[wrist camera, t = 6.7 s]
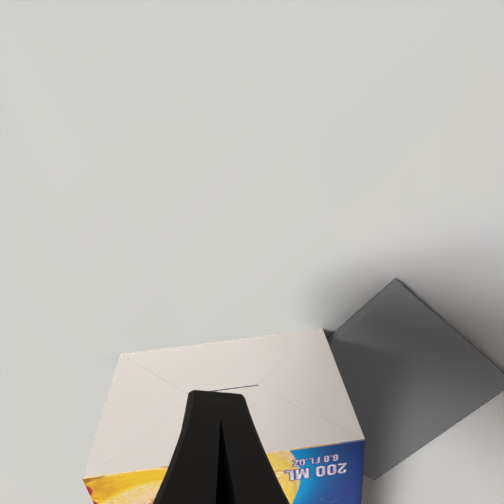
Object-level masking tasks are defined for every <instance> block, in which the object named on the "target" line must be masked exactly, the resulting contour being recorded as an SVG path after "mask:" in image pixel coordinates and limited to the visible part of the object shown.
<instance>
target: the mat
mask: <svg viewBox="0 0 504 504" xmlns="http://www.w3.org/2000/svg"><path fill="white" fill-rule="evenodd" d="M327 341H328V344H329V347H330V349H331V352H332V355H333V357H334V360H335V362H336V365H337V368H338V370H339V373H340V375H341V378H342V381H343V383H344V386H345V388H346V391H347V394H348V396H349V399H350V401H351V404H352V407H353V409H354V412H355V415H356V417H357V420H358V422H359V425H360V428H361V430H362V433H363V435H364V438H365V451H364V467H363V474H364V475H366V476H368V477H370V478H372V479H373V480H376V479H377V478H379V477H380V476H382V475H383V474H384V473H386V472H387V471H389V470H390V469H392V468H393V467H394V466H396V465H397V464H399V463H400V462H402V461H403V460H405V459H406V458H407V457H409V456H410V455H412V454H413V453H415V452H416V451H417V450H419V449H420V448H422V447H423V446H425V445H426V444H428V443H429V442H430V441H432V440H433V439H435V438H436V437H438V436H439V435H440V434H442V433H443V432H445V431H446V430H448V429H449V428H451V427H452V426H453V425H455V424H456V423H458V422H459V421H461V420H462V419H464V418H465V417H466V416H468V415H469V414H471V413H472V412H474V411H475V410H476V409H478V408H479V407H481V406H482V405H484V404H485V403H487V402H488V401H489V400H491V399H492V398H494V397H495V396H497V395H498V394H499V393H501V392H502V391H504V372H503V371H502V370H501V369H499V368H498V367H497V366H496V365H495V364H494V363H492V362H491V361H490V360H489V359H488V358H487V357H486V356H484V355H483V354H482V353H481V352H480V351H479V350H477V349H476V348H475V347H474V346H473V345H472V344H471V343H469V342H468V341H467V340H466V339H465V338H464V337H463V336H461V335H460V334H459V333H458V332H457V331H456V330H454V329H453V328H452V327H451V326H450V325H449V324H448V323H446V322H445V321H444V320H443V319H442V318H441V317H440V316H438V315H437V314H436V313H435V312H434V311H433V310H431V309H430V308H429V307H428V306H427V305H426V304H425V303H423V302H422V301H421V300H420V299H419V298H418V297H416V296H415V295H414V294H413V293H412V292H411V291H410V290H408V289H407V288H406V287H405V286H404V285H403V284H402V283H400V282H399V281H398V280H397V279H395V280H393V281H392V282H391V283H390V284H389V285H388V286H387V287H385V288H384V289H383V290H382V291H381V292H380V293H379V294H377V295H376V296H375V297H374V298H373V299H372V300H371V301H369V302H368V303H367V304H366V305H365V306H364V307H363V308H361V309H360V310H359V311H358V312H357V313H356V314H355V315H353V316H352V317H351V318H350V319H349V320H348V321H347V322H345V323H344V324H343V325H342V326H341V327H340V328H339V329H337V330H336V331H335V332H334V333H333V334H332V335H331V336H329V337H328V338H327Z"/></svg>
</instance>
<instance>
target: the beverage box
mask: <svg viewBox="0 0 504 504" xmlns="http://www.w3.org/2000/svg"><path fill="white" fill-rule="evenodd" d="M193 390H202V391H213V392H225V393H236V394H242V395H243V396H244V397H245V399H246V403H247V406H248V409H249V412H250V415H251V417H252V420H253V423H254V425H255V428H256V431H257V433H258V436H259V438H260V441H261V443H262V445H263V448H264V450H265V452H266V455H267V457H268V459H269V461H270V464H271V466H272V468H273V470H274V472H275V474H276V477H277V479H278V481H279V483H280V485H281V487H282V489H283V491H284V493H285V495H286V497H287V499H288V501H289V503H290V504H361V498H362V482H363V467H364V451H365V438H364V435H363V433H362V430H361V428H360V425H359V422H358V420H357V417H356V415H355V412H354V409H353V407H352V404H351V401H350V399H349V396H348V394H347V391H346V388H345V386H344V383H343V381H342V378H341V375H340V373H339V370H338V368H337V365H336V362H335V360H334V357H333V355H332V352H331V349H330V347H329V344H328V341H327V339H326V336H325V334H324V331H323V329H314V330H306V331H298V332H291V333H283V334H275V335H267V336H259V337H251V338H243V339H236V340H228V341H220V342H212V343H204V344H196V345H189V346H181V347H173V348H165V349H157V350H149V351H141V352H134V353H126V354H120V357H119V360H118V363H117V367H116V370H115V373H114V376H113V380H112V383H111V386H110V390H109V393H108V396H107V399H106V403H105V406H104V409H103V413H102V416H101V419H100V422H99V426H98V429H97V432H96V436H95V439H94V442H93V445H92V449H91V452H90V455H89V459H88V462H87V465H86V468H85V472H84V475H83V478H82V479H83V481H84V483H85V485H86V487H87V490H88V492H89V494H90V496H91V498H92V500H93V502H94V504H153V502H154V499H155V497H156V495H157V492H158V490H159V488H160V486H161V483H162V481H163V479H164V476H165V474H166V472H167V469H168V466H169V464H170V461H171V458H172V456H173V453H174V450H175V447H176V445H177V442H178V439H179V436H180V432H181V429H182V423H183V418H184V413H185V408H186V403H187V398H188V393H189V392H191V391H193Z"/></svg>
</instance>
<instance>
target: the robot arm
mask: <svg viewBox="0 0 504 504" xmlns="http://www.w3.org/2000/svg"><path fill="white" fill-rule="evenodd" d="M153 504H290V503H289V501H288V499H287V497H286V495H285V493H284V491H283V489H282V487H281V485H280V483H279V481H278V479H277V477H276V474H275V472H274V470H273V468H272V466H271V464H270V461H269V459H268V457H267V455H266V452H265V450H264V448H263V445H262V443H261V441H260V438H259V436H258V433H257V431H256V428H255V425H254V423H253V420H252V417H251V415H250V412H249V409H248V406H247V403H246V399H245V397H244V396H243V395H242V394H236V393H225V392H213V391H202V390H193V391H191V392H189V393H188V398H187V403H186V408H185V413H184V418H183V423H182V429H181V432H180V436H179V439H178V442H177V445H176V447H175V450H174V453H173V456H172V458H171V461H170V464H169V466H168V469H167V472H166V474H165V476H164V479H163V481H162V483H161V486H160V488H159V490H158V492H157V495H156V497H155V499H154V502H153Z"/></svg>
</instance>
